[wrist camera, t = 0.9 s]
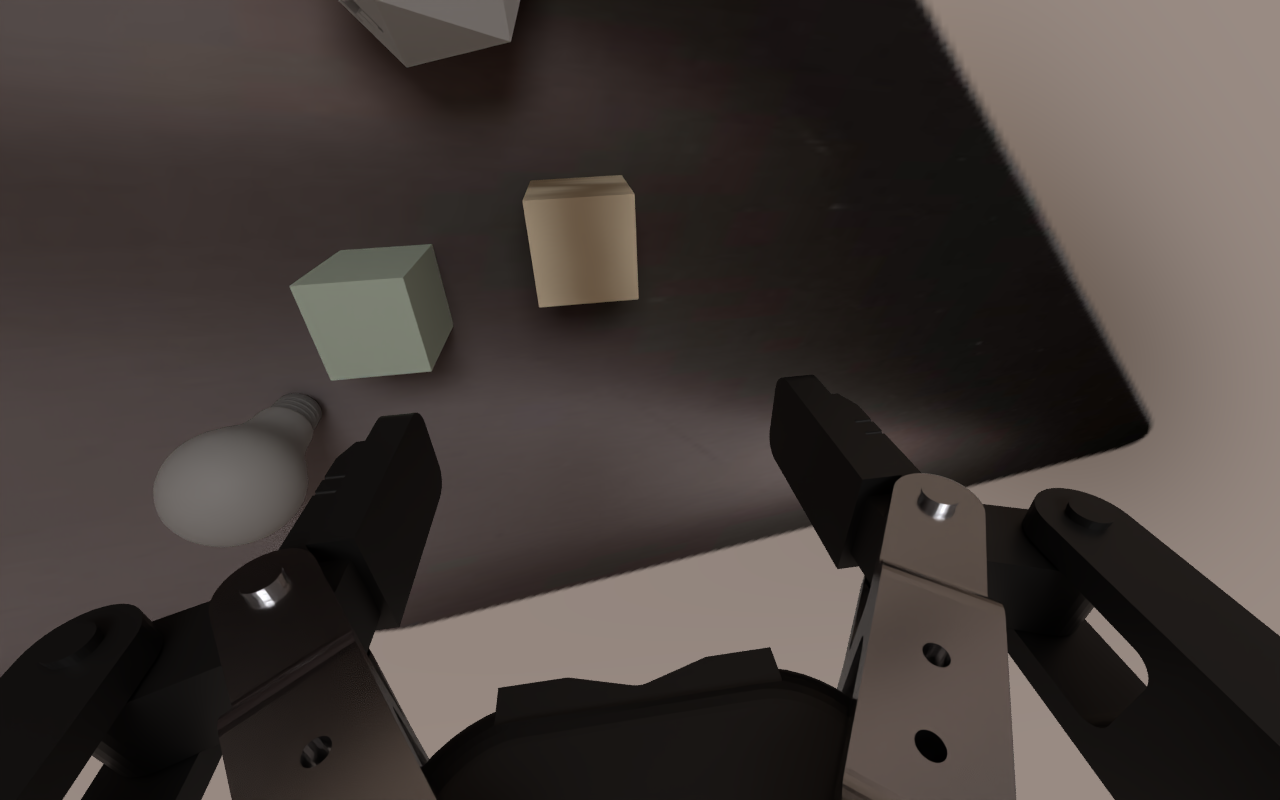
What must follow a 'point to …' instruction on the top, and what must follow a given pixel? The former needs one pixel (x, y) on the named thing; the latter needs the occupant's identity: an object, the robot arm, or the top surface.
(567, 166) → the top surface
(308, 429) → the lightbulb
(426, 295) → the sage block
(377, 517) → the robot arm
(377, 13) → the die
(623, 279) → the maple block
